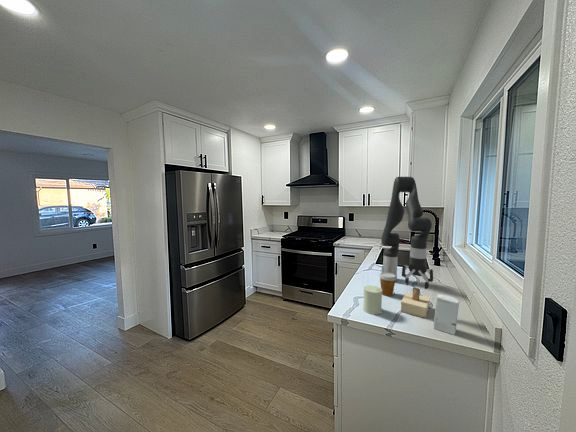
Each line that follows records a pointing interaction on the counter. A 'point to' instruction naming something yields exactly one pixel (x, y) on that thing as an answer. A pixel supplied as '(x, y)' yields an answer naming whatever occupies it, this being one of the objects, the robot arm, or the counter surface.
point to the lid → (415, 299)
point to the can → (372, 299)
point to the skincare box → (446, 313)
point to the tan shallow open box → (414, 310)
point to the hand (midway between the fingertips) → (416, 286)
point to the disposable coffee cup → (387, 283)
